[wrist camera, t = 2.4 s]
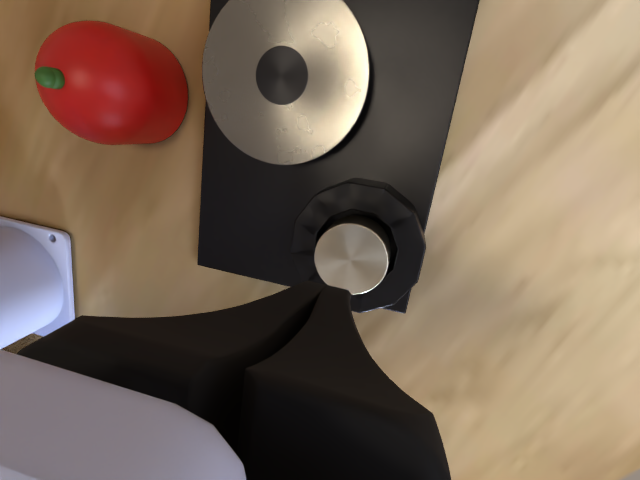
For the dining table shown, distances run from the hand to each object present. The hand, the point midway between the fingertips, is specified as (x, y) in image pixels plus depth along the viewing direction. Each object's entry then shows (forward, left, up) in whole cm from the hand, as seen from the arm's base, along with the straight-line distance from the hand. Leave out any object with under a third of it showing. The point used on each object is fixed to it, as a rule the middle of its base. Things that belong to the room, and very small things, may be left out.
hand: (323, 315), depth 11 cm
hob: (-3, +4, -9) cm, 11 cm away
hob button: (0, 0, -7) cm, 7 cm away
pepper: (-13, +5, -9) cm, 17 cm away
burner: (-5, +7, -7) cm, 11 cm away
